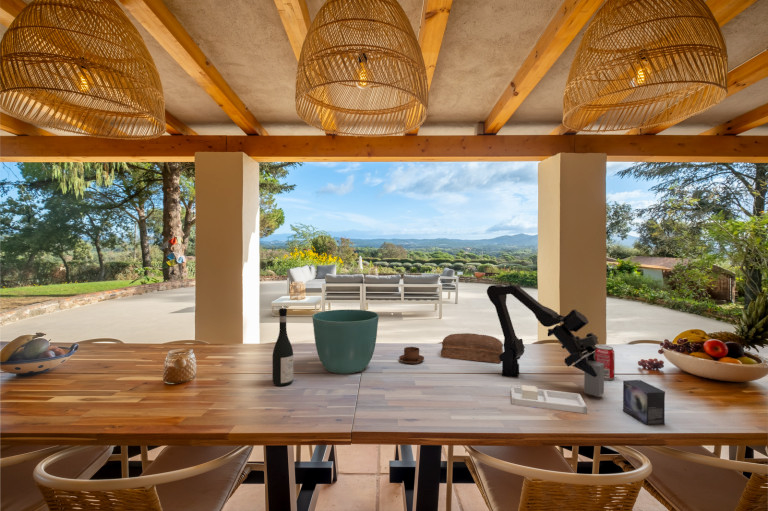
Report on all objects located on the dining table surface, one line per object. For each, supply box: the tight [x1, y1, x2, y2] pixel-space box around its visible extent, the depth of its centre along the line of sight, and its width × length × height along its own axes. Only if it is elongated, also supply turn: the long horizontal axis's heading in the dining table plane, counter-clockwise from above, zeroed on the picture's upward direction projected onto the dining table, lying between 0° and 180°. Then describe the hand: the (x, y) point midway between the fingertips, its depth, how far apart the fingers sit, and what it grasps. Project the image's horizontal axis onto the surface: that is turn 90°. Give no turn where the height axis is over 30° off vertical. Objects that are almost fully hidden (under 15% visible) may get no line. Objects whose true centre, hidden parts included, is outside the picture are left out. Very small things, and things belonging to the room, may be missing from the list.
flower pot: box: [311, 309, 379, 375], centre depth 168 cm, size 30×30×24 cm
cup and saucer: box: [399, 346, 425, 364], centre depth 178 cm, size 12×12×6 cm
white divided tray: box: [510, 385, 588, 414], centre depth 129 cm, size 23×12×3 cm, turn 72°
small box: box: [622, 379, 666, 426], centre depth 119 cm, size 11×6×10 cm, turn 5°
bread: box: [440, 332, 504, 364], centre depth 187 cm, size 17×29×11 cm, turn 69°
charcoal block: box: [583, 360, 605, 398], centre depth 136 cm, size 5×5×11 cm
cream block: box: [521, 384, 538, 400], centre depth 130 cm, size 5×5×4 cm
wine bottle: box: [271, 307, 294, 387], centre depth 148 cm, size 8×8×30 cm
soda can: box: [594, 345, 616, 381], centre depth 156 cm, size 7×7×13 cm
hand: (598, 374), depth 135 cm, fingers closed on charcoal block, 5 cm apart
